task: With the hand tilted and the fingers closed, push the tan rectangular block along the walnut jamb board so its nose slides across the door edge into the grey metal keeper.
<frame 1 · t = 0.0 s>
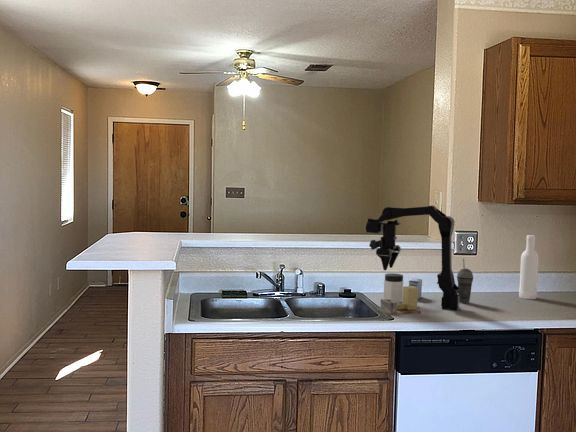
hand: (387, 268, 269), 15 cm above the worktop, tool pointing down, fingers open, 9 cm apart
lidded container: (393, 301, 271), on the worktop
beverage cup: (463, 302, 271), on the worktop
tan rectangular block: (404, 298, 250), point 6 cm above the worktop, slide at 0.0 cm
jamb board: (400, 311, 250), on the worktop
medicine box: (414, 298, 279), on the worktop
bottle: (527, 298, 285), on the worktop
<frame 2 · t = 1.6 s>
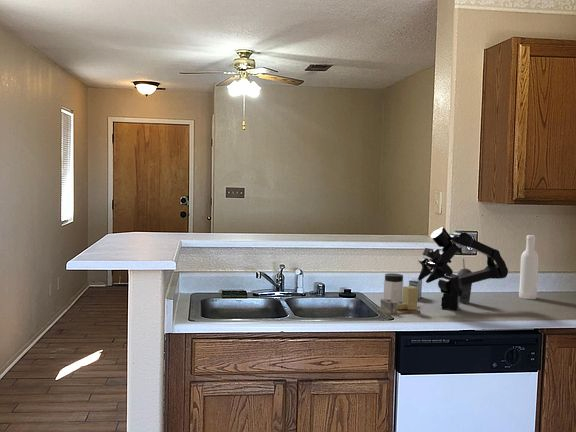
hand: (422, 281, 252), 13 cm above the worktop, tool tilted 45°, fingers open, 6 cm apart
nothing on the worktop moved.
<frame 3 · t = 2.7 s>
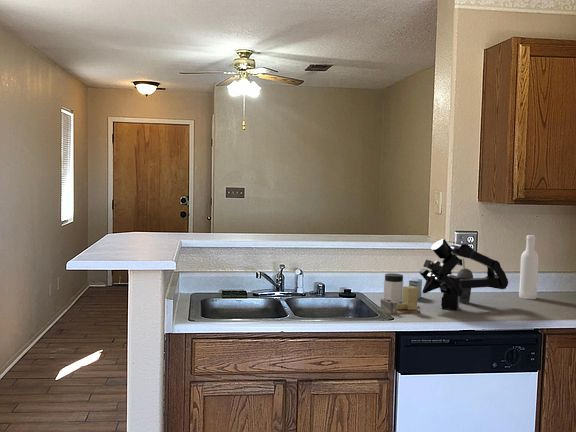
hand: (423, 292, 253), 8 cm above the worktop, tool tilted 45°, fingers closed
nothing on the worktop moved.
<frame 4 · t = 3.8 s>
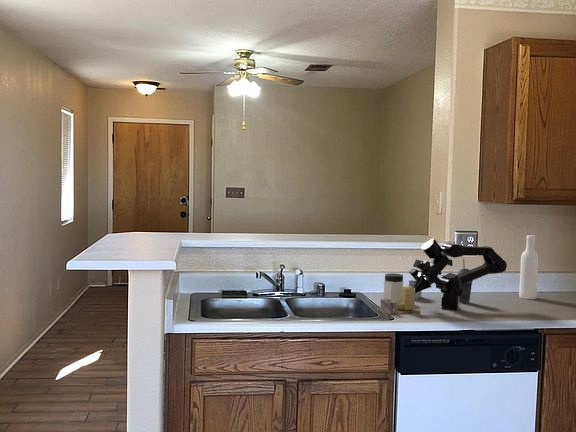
hand: (412, 292, 251), 8 cm above the worktop, tool tilted 45°, fingers closed, pressing on tan rectangular block
tan rectangular block: (402, 298, 250), point 6 cm above the worktop, slide at 1.3 cm, touching gripper
everything else where it was.
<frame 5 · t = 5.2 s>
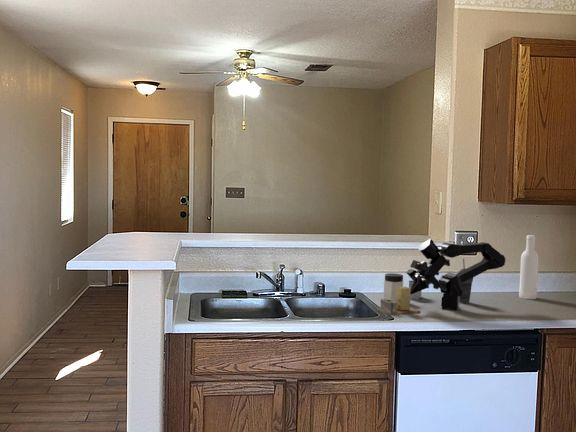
hand: (410, 293, 251), 7 cm above the worktop, tool tilted 45°, fingers closed
tan rectangular block: (397, 298, 249), point 6 cm above the worktop, slide at 3.4 cm
everything else where it was.
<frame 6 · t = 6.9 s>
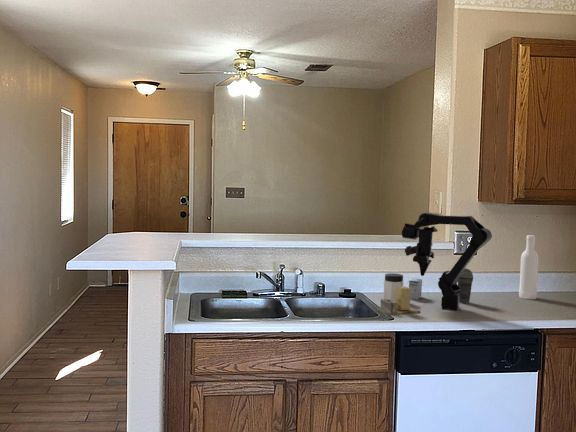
hand: (422, 275, 265), 13 cm above the worktop, tool pointing down, fingers closed
nothing on the worktop moved.
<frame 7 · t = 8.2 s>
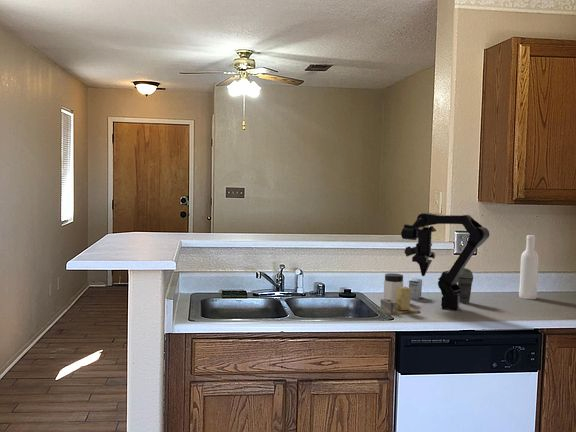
hand: (423, 276, 265), 12 cm above the worktop, tool pointing down, fingers closed
nothing on the worktop moved.
at the end: tan rectangular block slide at 3.4 cm; tan rectangular block touching nothing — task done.
